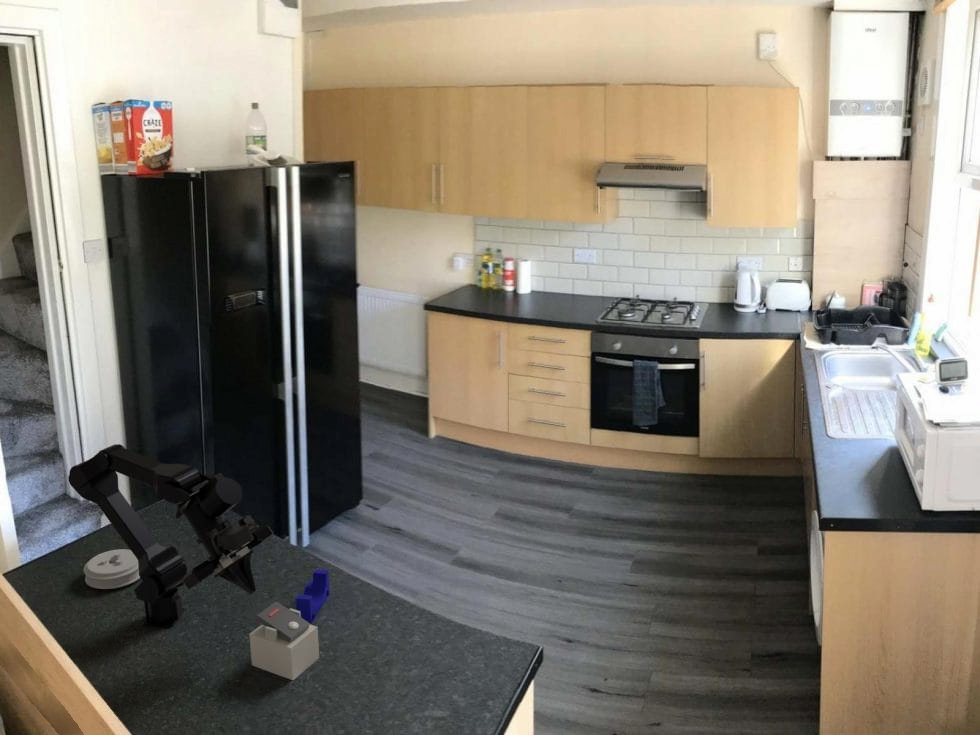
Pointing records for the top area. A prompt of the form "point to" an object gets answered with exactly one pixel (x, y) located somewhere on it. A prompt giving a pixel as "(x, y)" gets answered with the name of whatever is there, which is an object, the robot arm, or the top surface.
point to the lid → (112, 569)
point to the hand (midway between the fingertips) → (253, 592)
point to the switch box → (284, 650)
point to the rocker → (283, 621)
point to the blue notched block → (314, 595)
